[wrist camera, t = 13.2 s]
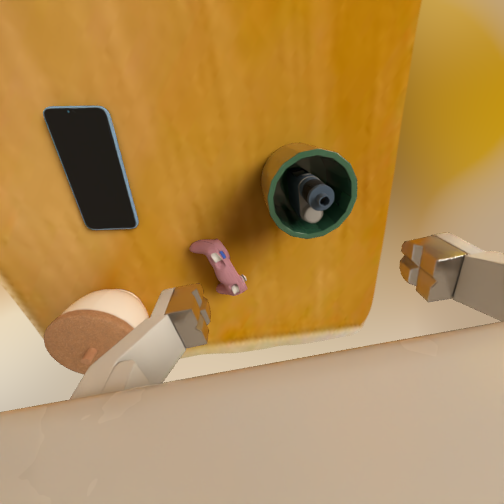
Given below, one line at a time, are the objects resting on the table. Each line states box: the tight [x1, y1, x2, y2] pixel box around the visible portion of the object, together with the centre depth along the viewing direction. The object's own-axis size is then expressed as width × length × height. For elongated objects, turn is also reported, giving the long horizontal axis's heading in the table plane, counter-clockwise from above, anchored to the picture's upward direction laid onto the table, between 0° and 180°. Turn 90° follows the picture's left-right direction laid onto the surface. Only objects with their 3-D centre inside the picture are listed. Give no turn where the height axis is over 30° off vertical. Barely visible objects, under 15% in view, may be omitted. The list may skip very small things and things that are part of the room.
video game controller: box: [190, 239, 247, 296], centre depth 35 cm, size 10×5×7 cm, turn 24°
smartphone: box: [43, 106, 138, 230], centre depth 30 cm, size 7×1×15 cm
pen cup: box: [261, 143, 357, 239], centre depth 28 cm, size 9×9×9 cm
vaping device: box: [287, 168, 334, 223], centre depth 26 cm, size 3×5×12 cm, turn 9°
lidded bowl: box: [44, 289, 149, 375], centre depth 36 cm, size 13×13×11 cm
